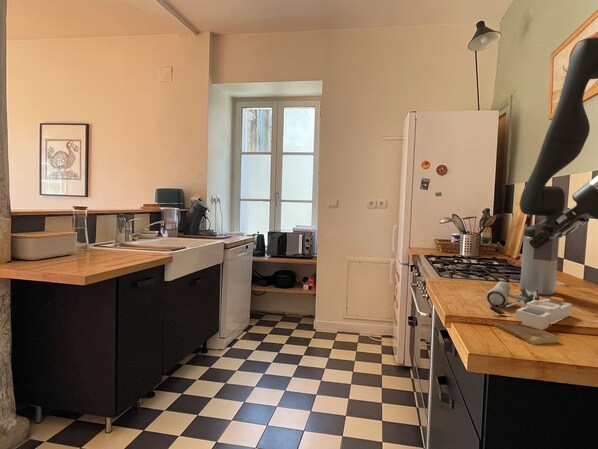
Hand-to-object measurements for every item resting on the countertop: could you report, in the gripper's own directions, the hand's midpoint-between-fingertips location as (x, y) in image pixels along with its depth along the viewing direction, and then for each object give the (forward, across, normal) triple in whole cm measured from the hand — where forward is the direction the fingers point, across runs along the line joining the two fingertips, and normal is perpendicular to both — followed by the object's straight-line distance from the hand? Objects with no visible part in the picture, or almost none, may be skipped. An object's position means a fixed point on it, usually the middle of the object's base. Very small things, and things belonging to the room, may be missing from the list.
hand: (536, 244), depth 83 cm
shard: (+12, +10, +15) cm, 22 cm away
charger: (+1, 0, +4) cm, 4 cm away
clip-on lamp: (+19, -7, +8) cm, 21 cm away
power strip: (+13, -7, +13) cm, 20 cm away
